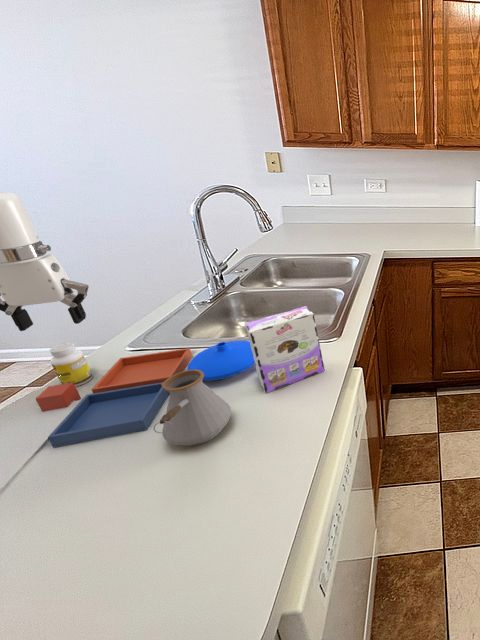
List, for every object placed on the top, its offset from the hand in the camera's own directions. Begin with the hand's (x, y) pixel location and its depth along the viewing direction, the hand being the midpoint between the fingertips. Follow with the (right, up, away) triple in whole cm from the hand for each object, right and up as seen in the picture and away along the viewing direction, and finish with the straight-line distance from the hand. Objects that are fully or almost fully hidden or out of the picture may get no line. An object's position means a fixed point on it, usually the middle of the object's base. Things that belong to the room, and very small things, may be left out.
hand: (54, 324), depth 89 cm
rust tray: (+15, -14, +8) cm, 21 cm away
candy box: (+51, -14, +8) cm, 53 cm away
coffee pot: (+42, -23, -13) cm, 50 cm away
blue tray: (+19, -19, -5) cm, 28 cm away
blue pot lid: (+33, -13, +11) cm, 37 cm away
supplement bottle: (0, -15, +6) cm, 16 cm away
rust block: (+5, -18, -3) cm, 19 cm away
